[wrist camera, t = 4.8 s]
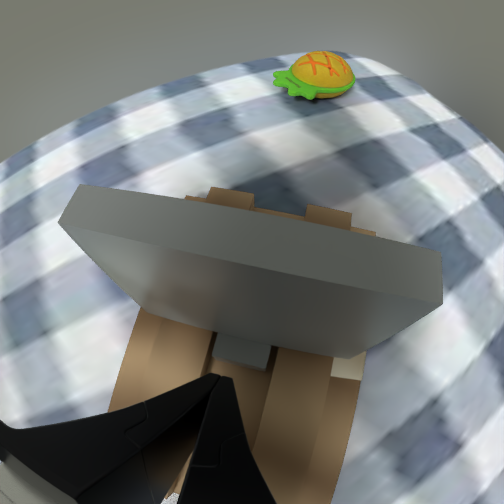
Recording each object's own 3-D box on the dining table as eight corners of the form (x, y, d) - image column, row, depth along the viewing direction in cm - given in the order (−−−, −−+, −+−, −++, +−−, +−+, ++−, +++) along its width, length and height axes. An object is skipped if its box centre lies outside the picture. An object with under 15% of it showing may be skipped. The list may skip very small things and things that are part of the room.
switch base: (319, 514, 13) (329, 531, 10) (106, 455, 15) (84, 461, 12) (369, 242, 22) (382, 220, 19) (189, 207, 23) (182, 182, 21)
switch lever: (336, 385, 15) (441, 352, 6) (150, 340, 17) (39, 258, 7) (347, 319, 17) (437, 215, 8) (171, 280, 19) (97, 156, 9)
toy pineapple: (363, 98, 31) (372, 61, 26) (303, 125, 28) (308, 80, 23) (321, 73, 33) (325, 38, 29) (259, 95, 31) (259, 55, 26)
